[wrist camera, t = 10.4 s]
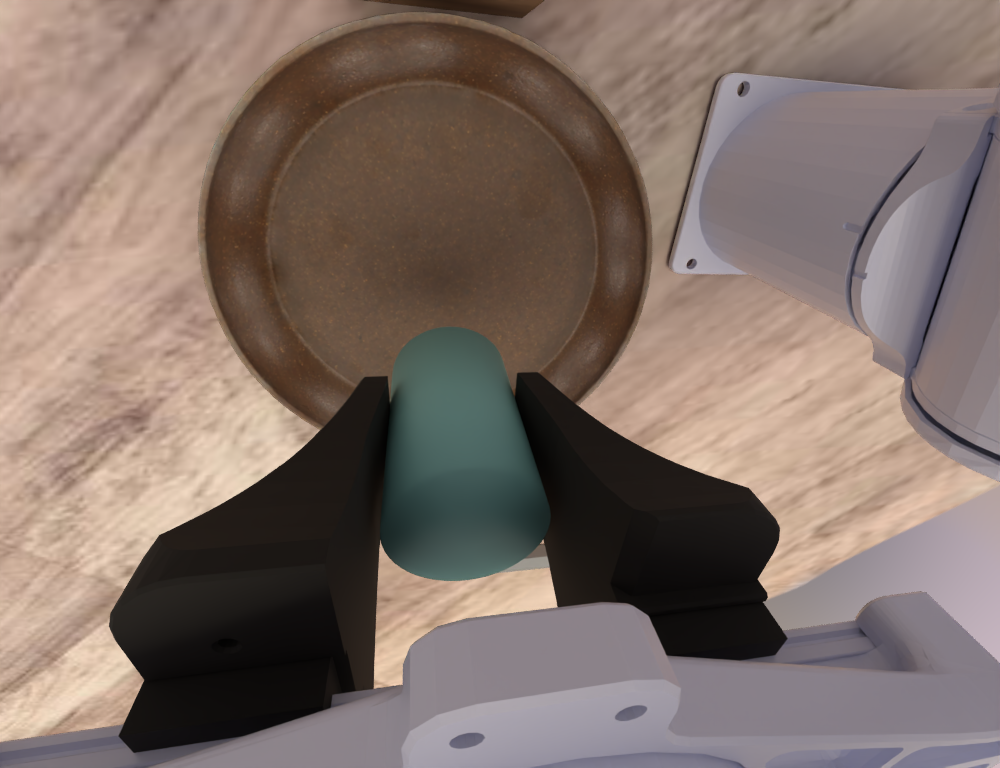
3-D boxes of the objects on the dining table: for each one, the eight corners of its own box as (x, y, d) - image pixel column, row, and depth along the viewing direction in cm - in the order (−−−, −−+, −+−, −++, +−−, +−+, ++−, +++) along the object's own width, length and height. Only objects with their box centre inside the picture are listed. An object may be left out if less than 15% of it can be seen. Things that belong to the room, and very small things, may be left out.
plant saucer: (166, 328, 20) (129, 362, 17) (344, -124, 13) (327, -176, 11) (487, 465, 27) (494, 502, 25) (699, 216, 21) (738, 232, 18)
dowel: (526, 366, 14) (584, 509, 10) (459, 436, 16) (479, 596, 11) (437, 304, 13) (451, 439, 8) (369, 388, 14) (345, 551, 9)
